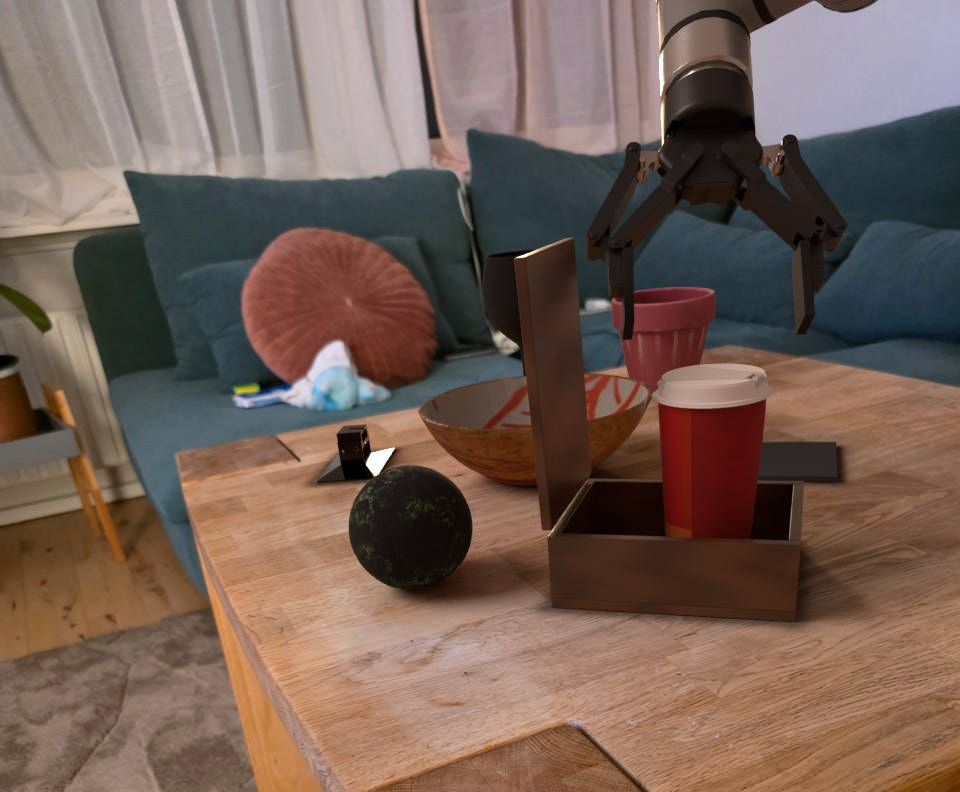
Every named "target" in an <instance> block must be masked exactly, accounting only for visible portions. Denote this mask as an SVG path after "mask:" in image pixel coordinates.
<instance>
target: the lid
mask: <svg viewBox="0 0 960 792" xmlns="http://www.w3.org/2000/svg"><path fill="white" fill-rule="evenodd" d="M536 249H537V250H535V251H532V252H530V253H527V254H525V255H522V256H519V257H517V258H515V259H514V263H515V273H516V283H517V293H518V302H519V312H520V322H521V332H522V341H523V351H524V361H525V371H526V380H527V390H528V400H529V410H530V419H531V429H532V439H533V449H534V458H535V468H536V478H537V486H536V487H537V495H538V496H537V497H538V506H539V516H540V526H541V531H552V530H553V528H554V527H555V525H556V524H557V522H558V521H559V519H560V518H561V516H562V515H563V514H564V512H565V511H566V509H567V508H568V506H569V505H570V503H571V502H572V501H573V499H574V498H575V496H576V495H577V493H578V492H579V490H580V489H581V487H582V486H583V485H584V483H585V482H586V480H587V479H589V477H590V475H591V474H592V469H591V459H590V446H589V432H588V419H587V405H586V391H585V378H584V373H585V365H584V352H583V351H584V350H583V341H582V340H583V338H582V337H583V336H582V325H581V312H580V298H579V283H578V271H577V257H576V256H577V255H576V242H575V237H568V238H567V237H566V238H563V239H561V240H558V241H556V242H553V243H551V244H548V245H545V246H543V247H539V248H536Z"/></svg>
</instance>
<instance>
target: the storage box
mask: <svg viewBox="0 0 960 792" xmlns="http://www.w3.org/2000/svg"><path fill="white" fill-rule="evenodd" d="M804 486H805V482H804V481H757V488H756V497H755V506H754V514H753V523H752V531H751V539H723V538H692V537H666V533H665V517H664V500H663V483H662V478H661V479H655V478H653V479H652V478H650V479H649V478H588V479H587V480H586V481H585V483H584V484H583V486H582V487H581V489H580V490H579V492H578V493H577V494H576V496H575V497H574V499H573V500H572V502H571V503H570V505H569V506H568V508H567V509H566V510H565V512H564V513H563V515H562V516H561V518H560V519H559V521H558V522H557V524H556V525H555V526H554V528H553V529H552V530H550V533H549V534H548V535H547V537H546V538H547V554H548V568H549V569H548V570H549V584H550V585H549V586H550V598H551V599H550V600H551V601H550V603H551V608H560V609H575V610H576V609H577V610H578V609H579V610H589V611H590V610H592V611H606V612H607V611H609V612H625V613H628V612H629V613H641V614H642V613H644V614H658V615H659V614H660V615H675V616H677V615H678V616H690V617H691V616H692V617H707V618H708V617H711V618H726V619H741V620H744V619H745V620H759V621H777V622H796V613H797V612H796V610H797V598H798V586H799V585H798V584H799V574H800V572H799V571H800V559H801V548H802V527H803V509H804V490H805V487H804Z"/></svg>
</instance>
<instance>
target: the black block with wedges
mask: <svg viewBox="0 0 960 792" xmlns="http://www.w3.org/2000/svg"><path fill="white" fill-rule="evenodd" d="M369 433H370V432H369V430H368V425H367V424H351V425H343V426H342V427H341V428H340V429H339V430H338V431H337V432H336V440H337V442H336V444H337V451H338V454H337V455H336V456H335V457H334V459H333V460H332V461H331V463H330V464H329V465H328V466H327V467H326V469H325V470H324V471H323V473H322V474H320V476H319V477H318V479H317V480H316V481H315V483H316V484H317V485H323V484H326V485H327V484H339V483H340V484H341V483H355V482H357V483H358V482H368V481H370V480H371V479H372V478H373V477H374V476H376V475H378V474H379V473H381V472H383V471H384V468H385V467H386V465H387V464H388V462H389V461H390V459H391V457H392V455H393V454H394V453H395V451H396V449H395V447H381V448H372V447H371V441H370V434H369Z"/></svg>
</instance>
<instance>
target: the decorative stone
mask: <svg viewBox="0 0 960 792" xmlns="http://www.w3.org/2000/svg"><path fill="white" fill-rule="evenodd" d="M473 529H474V527H473V517H472V512H471V508H470V506H469V503H468V501H467V499H466V497H465V496H464V494H463V492H462V490H461V489H460V488H459V487H458V485H456V483H455V482H454V481H452V480H451V479H450V478H449V477H447V476H446V475H445V474H443V473H442V472H440V471H438V470H436V469H433V468H431V467H427V466H423V465H415V464H406V465H398V466H393V467H391V468H387V469H385V470H382V471H381V473H379V474H378V475H376V476H374V477H373V478H372V479H371V480H370V481H366V483H365V484H364V485H363V487H361V489H360V490H359V492H358V493H357V495H356V497H355V498H354V501H353V502H352V505H351V508H350V513H349V518H348V538H349V543H350V547H351V549H352V551H353V554H354V555H355V557H356V560H357V561H358V562H359V564H360V566H361V567H362V568H363V569H364V570H365V571H366V572H367V573H368V574H369V575H370V576H372V577H373V578H374V579H376V580H377V581H379V582H380V583H382V584H383V585H385V586H388V587H390V588H393V589H398V590H406V591H415V590H416V591H421V590H426V589H429V588H432V587H435V586H437V585H440V584H441V583H442V582H445V580H447V579H448V578H450V577H451V576H452V575H454V573H455V572H456V571H457V570H458V569H459V568H460V567H461V565H462V563H463V562H464V560H465V559H466V558H467V555H468V553H469V550H470V547H471V545H472V544H471V543H472V540H473Z"/></svg>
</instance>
